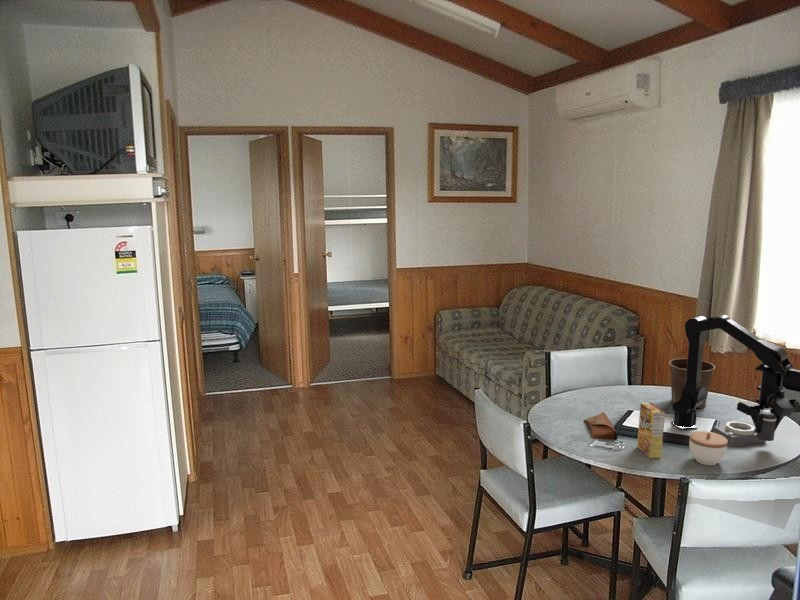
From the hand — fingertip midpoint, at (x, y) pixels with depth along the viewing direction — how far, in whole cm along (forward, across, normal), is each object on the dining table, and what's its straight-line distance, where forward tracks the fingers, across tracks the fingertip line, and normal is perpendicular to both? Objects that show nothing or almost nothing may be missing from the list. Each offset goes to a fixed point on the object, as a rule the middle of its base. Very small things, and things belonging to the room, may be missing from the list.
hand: (765, 431), depth 207 cm
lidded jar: (+6, -24, -5) cm, 25 cm away
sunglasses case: (+7, -45, +25) cm, 51 cm away
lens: (+2, 0, 0) cm, 2 cm away
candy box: (+6, -38, +4) cm, 39 cm away
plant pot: (+6, +1, +42) cm, 43 cm away
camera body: (+6, -2, +9) cm, 11 cm away
